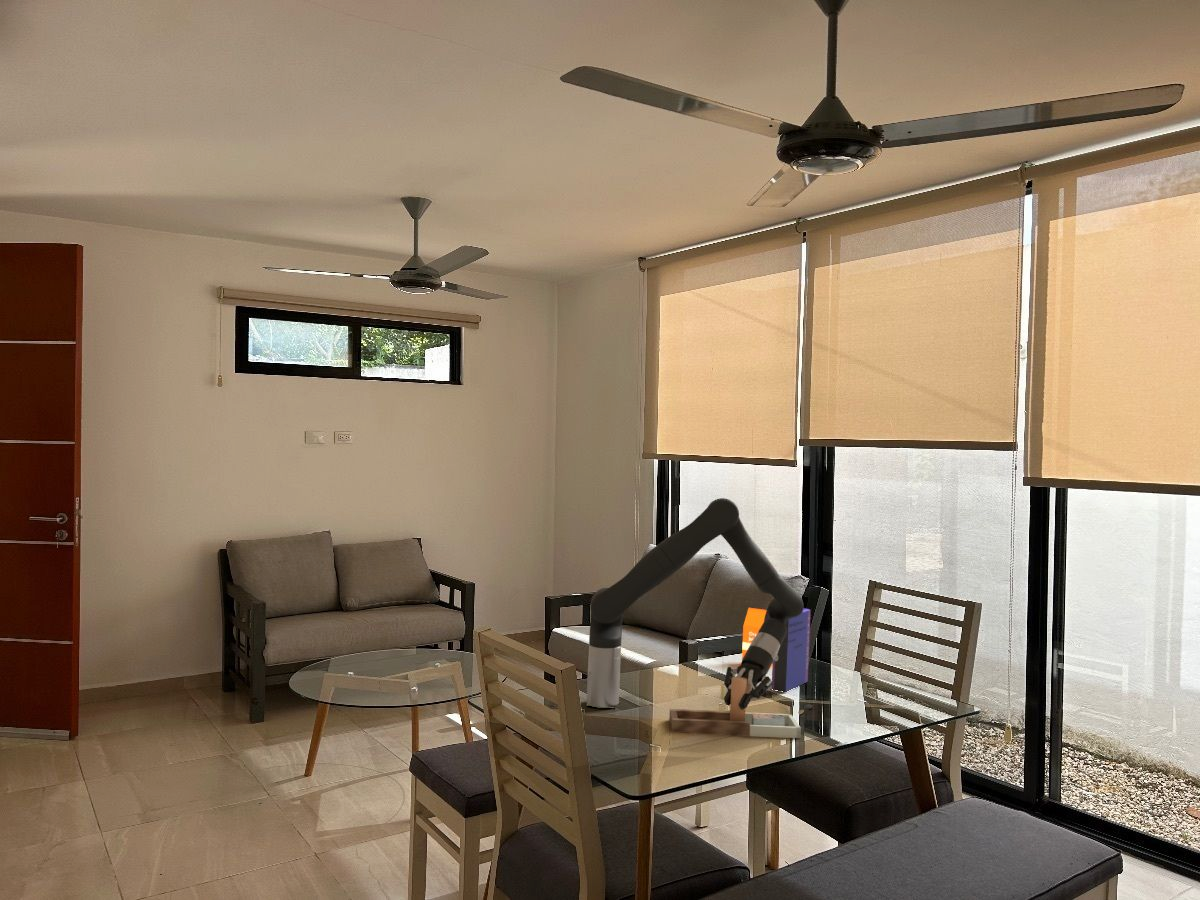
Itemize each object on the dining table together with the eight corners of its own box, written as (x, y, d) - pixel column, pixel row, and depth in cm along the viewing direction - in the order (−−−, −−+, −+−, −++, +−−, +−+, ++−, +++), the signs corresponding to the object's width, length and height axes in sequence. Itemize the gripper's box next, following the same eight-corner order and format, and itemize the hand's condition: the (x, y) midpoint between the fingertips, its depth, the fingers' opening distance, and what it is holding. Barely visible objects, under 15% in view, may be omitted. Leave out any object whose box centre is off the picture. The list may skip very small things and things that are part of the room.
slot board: (672, 736, 232) (673, 721, 232) (668, 722, 244) (669, 707, 244) (749, 739, 232) (750, 724, 232) (742, 725, 244) (743, 710, 244)
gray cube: (768, 733, 236) (769, 718, 236) (766, 729, 240) (767, 714, 240) (783, 734, 236) (784, 719, 236) (781, 729, 240) (782, 714, 240)
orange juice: (765, 670, 307) (767, 612, 307) (741, 666, 312) (743, 609, 312) (773, 666, 314) (776, 609, 314) (750, 662, 319) (752, 606, 319)
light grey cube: (753, 733, 236) (753, 717, 236) (751, 728, 240) (752, 713, 240) (768, 733, 236) (769, 718, 236) (766, 729, 240) (767, 714, 240)
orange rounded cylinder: (730, 725, 236) (732, 680, 236) (728, 721, 240) (730, 676, 240) (745, 726, 236) (748, 680, 236) (743, 722, 240) (745, 677, 240)
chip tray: (749, 739, 232) (750, 725, 232) (742, 725, 244) (743, 712, 244) (800, 741, 232) (800, 727, 232) (790, 727, 244) (791, 714, 244)
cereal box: (793, 679, 296) (796, 607, 296) (807, 682, 294) (810, 609, 294) (771, 690, 282) (774, 613, 282) (785, 693, 279) (788, 616, 279)
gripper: (734, 640, 248) (706, 691, 240) (779, 649, 239) (751, 703, 230) (744, 656, 252) (717, 707, 243) (788, 667, 242) (761, 720, 234)
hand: (733, 705), depth 237 cm, fingers closed on orange rounded cylinder, 4 cm apart
